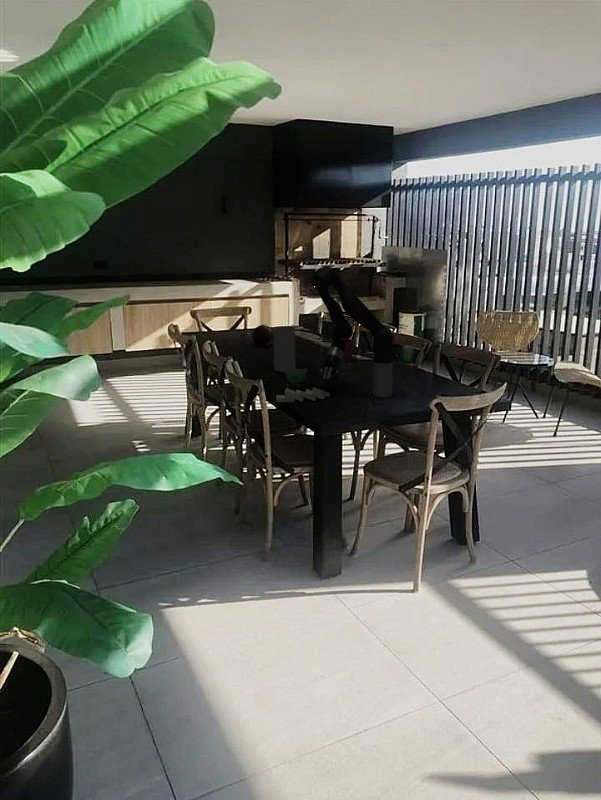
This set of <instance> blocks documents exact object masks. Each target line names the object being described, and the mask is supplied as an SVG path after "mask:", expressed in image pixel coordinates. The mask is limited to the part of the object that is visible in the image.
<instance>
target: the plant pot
mask: <svg viewBox="0 0 601 800" xmlns="http://www.w3.org/2000/svg"><path fill="white" fill-rule="evenodd" d="M341 340H343V341H344V342H345V348H344V351H343V354H342V358H341V361H340V363H348V362H351V361H352V357H353V353H354V348H356V340H355V339H351V338H348V339H341Z"/></svg>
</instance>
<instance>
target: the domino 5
mask: <svg viewBox="0 0 601 800" xmlns="http://www.w3.org/2000/svg"><path fill="white" fill-rule="evenodd" d="M311 391H314V392H316V393H319V394H322V395H324V396H325V397H328V398H329V397H330V395H331V393H330V392H329V391H325V390H323V389H320V388H317V387H312V389H311Z"/></svg>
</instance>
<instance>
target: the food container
mask: <svg viewBox="0 0 601 800" xmlns="http://www.w3.org/2000/svg"><path fill="white" fill-rule="evenodd" d="M283 373H285V379H286V387H287V386H288V387H287V388H289V387H291V388H290V389H299V388H298V387H303V386H304V387H305V382H306V375H307V373H308V369H307V367H305V368H295V369H292V370H288V369H285V371H284V372H283ZM304 387H303V388H304Z"/></svg>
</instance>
